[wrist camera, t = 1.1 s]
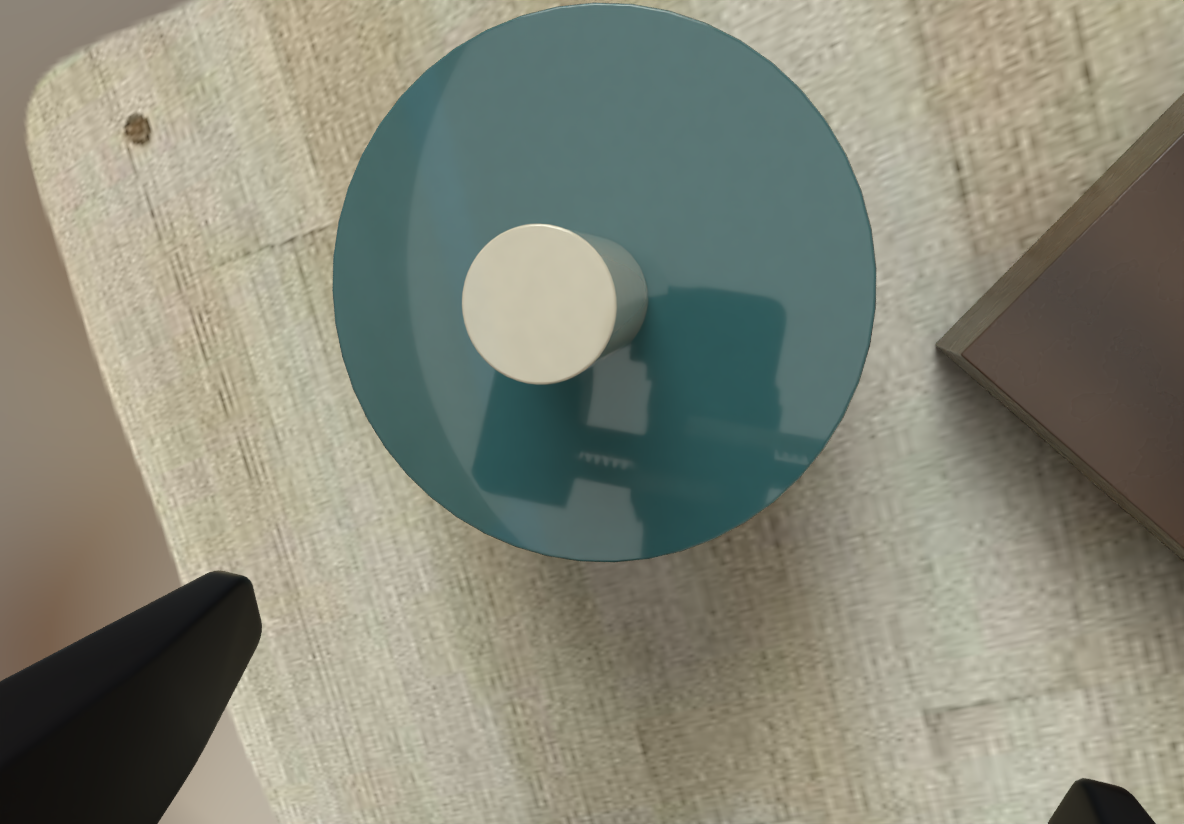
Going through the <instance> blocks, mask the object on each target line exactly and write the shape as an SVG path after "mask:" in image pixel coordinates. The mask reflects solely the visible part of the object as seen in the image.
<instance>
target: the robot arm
mask: <svg viewBox="0 0 1184 824" xmlns="http://www.w3.org/2000/svg"><path fill="white" fill-rule="evenodd" d="M261 632H262V623H261V618H260V614H259V610H258V605H257V601H256V597H255V593H254V589H253V585H252V583H251V581H250V580H249V579H248V578H247V577H245V576H242V575H238V574H234V573H229V572H225V571H213V572H209V573H207V574H205V575H203V576H201V577H199V578H197V579H195V580H193V581H192V582H190V583H188V584H186V585H184V586H182V587H180V588H178V589H176V590H174V591H172V592H171V593H169V594H167V595H165V596H163V597H161V598H159V599H157V600H155V601H153V602H151V603H150V604H148V605H146V606H144V607H142V608H140V609H138V610H136V611H134V612H132V613H130V614H129V615H126V616H125V617H123V618H121V619H119V620H117V621H115V622H113V623H111V624H109V625H107V626H105V627H103V628H102V629H100V630H98V631H96V632H94V633H92V634H90V635H88V636H86V637H84V638H82V639H81V640H79V641H77V642H75V643H73V644H71V645H69V646H67V647H65V648H63V649H61V650H60V651H58V652H56V653H54V654H52V655H50V656H48V657H46V658H44V659H43V660H40V661H38V662H36V663H35V664H33V665H31V666H29V667H27V668H25V669H23V670H21V671H19V672H17V673H15V674H14V675H12V676H10V677H8V678H6V679H4V680H2V681H1V682H0V824H158V822H159V820H160V819H161V817H162V816H163V814H164V813H165V811H166V810H167V808H168V807H169V805H170V804H171V802H172V800H173V799H174V797H175V796H176V794H177V793H178V791H179V790H180V788H181V787H182V785H183V783H184V782H185V780H186V779H187V777H188V775H189V774H190V772H191V771H192V769H193V767H194V766H195V764H196V762H197V761H198V758H199V757H200V755H201V753H202V752H203V750H204V748H205V746H206V744H207V742H208V740H209V738H210V736H211V735H212V733H213V731H214V729H215V727H216V725H217V723H218V721H219V719H220V717H221V715H222V713H223V711H224V710H225V708H226V706H227V704H228V702H229V700H230V698H231V696H232V694H233V692H234V690H235V688H236V686H237V684H238V682H239V681H240V679H241V677H242V675H243V673H244V671H245V669H246V667H247V665H248V663H249V661H250V659H251V657H252V655H253V653H254V652H255V650H256V648H257V645H258V643H259V640H260V637H261ZM1048 824H1156V823H1155V822H1154V821H1153V820H1152V818H1151V817H1150V816H1149V815H1148V813H1147V812H1146V811H1145V810H1144V808H1143V807H1142V806H1141V805H1140V803H1139V802H1138V801H1137V800H1136V798H1135V797H1134V796H1133V795H1132V794H1131V793H1129V792H1128V791H1127V790H1125V789H1124V788H1122V787H1119V786H1116V785H1112V784H1108V783H1104V782H1099V781H1095V780H1091V779H1086V778H1082V779H1079V780H1077V781H1075V782H1074V784H1073V785H1072V786H1071V788H1070V789H1069V791H1068V792H1067V794H1066V795H1065V797H1064V798H1063V800H1062V801H1061V803H1060V805H1059V806H1058V808H1057V809H1056V811H1055V812H1054V814H1053V815H1052V817H1051V818H1050V820H1049V822H1048Z"/></svg>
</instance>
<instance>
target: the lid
mask: <svg viewBox="0 0 1184 824" xmlns="http://www.w3.org/2000/svg"><path fill="white" fill-rule="evenodd" d="M333 301H334V312H335V323H336V329H337V333H338V338H339V343H340V348H341V352H342V357H343V360H344V363H345V366H346V369H347V372H348V375H349V378H350V381H351V384H352V387H353V390H354V392H355V394H356V396H357V398H358V400H359V402H360V404H361V407H362V409H363V411H364V413H365V415H366V417H367V419H368V421H369V422H370V424H371V426H372V427H373V429H374V430H375V432H376V434H377V435H378V437H379V438H380V440H381V442H382V443H383V445H384V446H385V448H386V449H387V450H388V452H389V453H390V454H391V455H392V457H393V458H394V459H395V460H396V462H397V463H398V464H399V465H400V466H401V468H402V469H403V470H404V471H405V473H406V474H407V475H408V476H409V477H410V478H411V479H412V480H413V481H414V482H415V483H416V484H417V485H418V486H420V487H421V488H422V489H423V490H424V491H425V492H426V493H427V494H428V495H429V496H430V497H431V498H432V499H434V500H435V501H436V502H438V503H439V504H440V505H442V506H443V507H444V508H445V509H447V510H448V511H449V512H451V513H452V514H453V515H455V516H456V517H457V518H459V519H461V520H463V521H464V522H466V523H468V524H469V525H471V526H473V527H475V528H476V529H478V530H480V531H481V532H483V533H485V534H487V535H489V536H492V537H494V538H496V539H499V540H501V541H503V542H506V543H508V544H510V545H513V546H515V547H518V548H522V549H525V550H529V551H532V552H535V553H539V554H542V555H546V556H550V557H557V558H563V559H569V560H576V561H588V562H623V561H633V560H643V559H650V558H655V557H659V556H663V555H668V554H672V553H676V552H681V551H684V550H686V549H689V548H692V547H694V546H697V545H700V544H702V543H705V542H708V541H711V540H713V539H715V538H717V537H719V536H721V535H723V534H725V533H727V532H729V531H730V530H732V529H734V528H736V527H738V526H740V525H742V524H744V523H745V522H747V521H748V520H750V519H751V518H752V517H754V516H755V515H757V514H758V513H759V512H761V511H762V510H764V509H765V508H766V507H768V506H769V505H771V504H772V503H774V502H775V501H776V500H777V499H778V498H779V497H780V496H781V495H782V494H783V493H784V492H785V491H787V490H788V489H789V488H790V487H791V486H792V485H793V484H794V483H795V482H796V481H797V480H798V479H799V478H800V477H801V476H802V475H803V474H804V473H805V471H806V470H807V469H808V468H809V467H810V465H811V464H812V463H813V462H814V460H815V459H816V458H817V457H818V456H819V454H820V453H821V452H822V451H823V449H824V448H825V446H826V445H827V443H828V442H829V440H830V438H831V437H832V435H833V434H834V432H835V430H836V429H837V427H838V425H839V424H840V422H841V421H842V419H843V417H844V415H845V413H846V411H847V408H848V406H849V404H850V402H851V400H852V397H853V395H854V393H855V391H856V388H857V386H858V384H859V381H860V378H861V374H862V371H863V368H864V364H865V361H866V357H867V354H868V351H869V347H870V342H871V335H872V329H873V322H874V316H875V309H876V261H875V253H874V244H873V236H872V229H871V225H870V221H869V217H868V213H867V210H866V206H865V202H864V198H863V194H862V191H861V188H860V186H859V184H858V181H857V179H856V176H855V174H854V172H853V169H852V167H851V164H850V162H849V160H848V157H847V155H846V153H845V151H844V150H843V148H842V146H841V145H840V143H839V141H838V140H837V138H836V136H835V135H834V133H833V131H832V129H831V128H830V126H829V124H828V123H827V121H826V120H825V118H824V117H823V116H822V115H821V113H820V112H819V111H818V110H817V108H816V107H815V106H814V105H813V103H812V102H811V101H810V100H809V98H808V97H807V96H806V95H805V93H804V92H803V91H802V90H801V89H800V88H799V87H798V86H797V85H796V84H795V83H794V82H793V81H792V80H791V79H790V78H789V77H787V76H786V75H785V74H784V73H783V72H782V71H781V70H780V69H779V68H778V67H777V66H776V65H775V64H774V63H772V62H771V61H770V60H768V59H767V58H765V57H764V56H762V55H761V54H760V53H758V52H757V51H755V50H754V49H752V48H751V47H750V46H748V45H747V44H745V43H744V42H742V41H741V40H739V39H737V38H735V37H733V36H731V35H729V34H727V33H725V32H723V31H721V30H719V29H717V28H715V27H713V26H711V25H709V24H707V23H705V22H702V21H699V20H696V19H693V18H690V17H687V16H684V15H681V14H678V13H675V12H672V11H669V10H663V9H657V8H652V7H646V6H641V5H635V4H620V3H586V4H577V5H567V6H558V7H553V8H550V9H546V10H542V11H538V12H534V13H530V14H526V15H522V16H519V17H517V18H514V19H512V20H509V21H507V22H504V23H502V24H500V25H497V26H495V27H492V28H490V29H487V30H485V31H484V32H482V33H480V34H479V35H477V36H475V37H473V38H472V39H470V40H468V41H467V42H465V43H463V44H461V45H460V46H458V47H456V48H455V49H453V50H452V51H451V52H449V53H448V54H447V55H446V56H444V57H443V58H442V59H440V60H439V61H438V62H437V63H435V64H434V65H433V66H431V67H430V68H429V69H428V70H426V71H425V72H424V73H423V74H422V75H421V76H420V77H419V78H418V79H417V80H416V81H415V82H414V83H413V84H412V85H411V86H410V87H409V88H408V90H407V91H406V92H405V93H404V94H403V95H402V96H401V97H400V98H399V99H398V101H397V102H396V103H395V105H394V106H393V107H392V109H391V110H390V111H389V113H388V114H387V115H386V117H385V118H384V119H383V120H382V122H381V123H380V124H379V126H378V128H377V130H376V131H375V133H374V135H373V137H372V138H371V140H370V142H369V144H368V145H367V147H366V149H365V151H364V152H363V154H362V156H361V158H360V161H359V163H358V166H357V168H356V170H355V173H354V175H353V177H352V180H351V182H350V185H349V187H348V190H347V194H346V197H345V201H344V205H343V208H342V212H341V215H340V219H339V223H338V230H337V237H336V243H335V250H334V259H333Z"/></svg>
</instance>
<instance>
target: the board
mask: <svg viewBox="0 0 1184 824" xmlns="http://www.w3.org/2000/svg"><path fill="white" fill-rule="evenodd" d="M936 346H937V347H938V348H939V349H940V350H941V351H942V352H943V353H945V354H946V355H947V356H948V357H949V358H950V359H952V360H953V361H954V362H955V363H956V364H957V365H958V366H960V367H961V368H962V369H963V370H964V371H965V372H966V373H968V374H969V375H970V376H971V377H972V378H973V379H975V380H976V381H977V382H978V383H979V384H980V385H981V386H983V387H984V388H985V389H986V390H987V391H988V392H990V393H991V394H992V395H993V396H994V397H995V398H996V399H998V400H999V401H1000V402H1001V403H1002V404H1003V405H1004V406H1006V407H1007V408H1008V409H1009V410H1010V411H1011V412H1013V413H1014V414H1015V415H1016V416H1017V417H1018V418H1019V419H1021V420H1022V421H1023V422H1024V423H1025V424H1026V425H1028V426H1029V427H1030V428H1031V429H1032V430H1033V431H1034V432H1036V433H1037V434H1038V435H1039V436H1040V437H1041V438H1042V439H1044V440H1045V441H1046V442H1047V443H1048V444H1049V445H1051V446H1052V447H1053V448H1054V449H1055V450H1056V451H1057V452H1059V453H1060V454H1061V455H1062V456H1063V457H1064V458H1066V459H1067V460H1068V461H1069V462H1070V463H1071V464H1072V465H1074V466H1075V467H1076V468H1077V469H1078V470H1079V471H1080V472H1082V473H1083V474H1084V475H1085V476H1086V477H1087V478H1089V479H1090V480H1091V481H1092V482H1093V483H1094V484H1095V485H1097V486H1098V487H1099V488H1100V489H1101V490H1102V491H1104V492H1105V493H1106V494H1107V495H1108V496H1109V497H1110V498H1112V499H1113V500H1114V501H1115V502H1116V503H1117V504H1119V505H1120V506H1121V507H1122V508H1123V509H1124V510H1125V511H1127V512H1128V513H1129V514H1130V515H1131V516H1132V517H1133V518H1135V519H1136V520H1137V521H1138V522H1139V523H1140V524H1142V525H1143V526H1144V527H1145V528H1146V529H1147V530H1148V531H1150V532H1151V533H1152V534H1153V535H1154V536H1155V537H1157V538H1158V539H1159V540H1160V541H1161V542H1162V543H1163V544H1165V545H1166V546H1167V547H1168V548H1169V549H1170V550H1171V551H1173V552H1174V553H1175V554H1176V555H1177V556H1178V557H1180V558H1181V559H1182V560H1183V561H1184V93H1183V94H1182V95H1181V96H1180V97H1179V98H1178V100H1177V101H1176V102H1175V103H1174V104H1173V105H1172V106H1171V107H1170V108H1169V109H1168V110H1167V111H1166V112H1165V113H1164V114H1163V115H1162V116H1161V117H1160V118H1159V119H1158V120H1157V121H1156V122H1155V123H1154V124H1153V125H1152V126H1151V127H1150V128H1149V129H1148V130H1147V131H1146V132H1145V133H1144V134H1143V135H1142V136H1141V137H1140V138H1139V139H1138V140H1137V141H1136V142H1135V143H1134V144H1133V145H1132V146H1131V147H1130V148H1129V149H1128V150H1127V151H1126V152H1125V153H1124V154H1123V155H1122V156H1121V157H1120V158H1119V159H1118V160H1117V161H1116V162H1115V163H1114V164H1113V165H1112V166H1111V167H1110V168H1109V169H1108V170H1107V171H1106V172H1105V173H1104V174H1103V175H1102V176H1101V177H1100V178H1099V179H1098V180H1097V181H1096V182H1095V183H1094V184H1093V185H1092V186H1091V187H1090V188H1089V189H1088V190H1087V191H1086V192H1085V193H1084V194H1083V195H1082V196H1081V197H1080V198H1079V199H1078V201H1077V202H1076V203H1075V204H1074V205H1073V206H1072V207H1071V208H1070V209H1069V210H1068V211H1067V212H1066V213H1065V214H1064V215H1063V216H1062V217H1061V218H1060V219H1059V220H1058V221H1057V222H1056V223H1055V224H1054V225H1053V226H1052V227H1051V228H1050V229H1049V230H1048V231H1047V232H1046V233H1045V234H1044V235H1043V236H1042V237H1041V238H1040V239H1039V240H1038V241H1037V242H1036V243H1035V244H1034V245H1033V246H1032V247H1031V248H1030V249H1029V250H1028V251H1027V252H1026V253H1025V254H1024V255H1023V256H1022V257H1021V258H1020V259H1019V260H1018V261H1017V262H1016V263H1015V264H1014V265H1013V266H1012V267H1011V268H1010V269H1009V270H1008V271H1007V272H1006V273H1005V274H1004V275H1003V276H1002V277H1001V278H1000V279H999V280H998V281H997V282H996V283H995V284H994V285H993V286H992V287H991V288H990V289H989V290H988V291H987V292H986V293H985V294H984V295H983V296H982V297H981V298H980V299H979V301H978V302H977V303H976V304H975V305H974V306H973V307H972V308H971V309H970V310H969V311H968V312H967V313H966V314H965V315H964V316H963V317H962V318H961V319H960V320H959V321H958V322H957V323H956V324H955V325H954V326H953V327H952V328H951V329H950V330H949V331H948V332H947V333H946V334H945V335H944V336H943V337H942V338H941V339H940V340H939V341H938V342H937V343H936Z"/></svg>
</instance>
